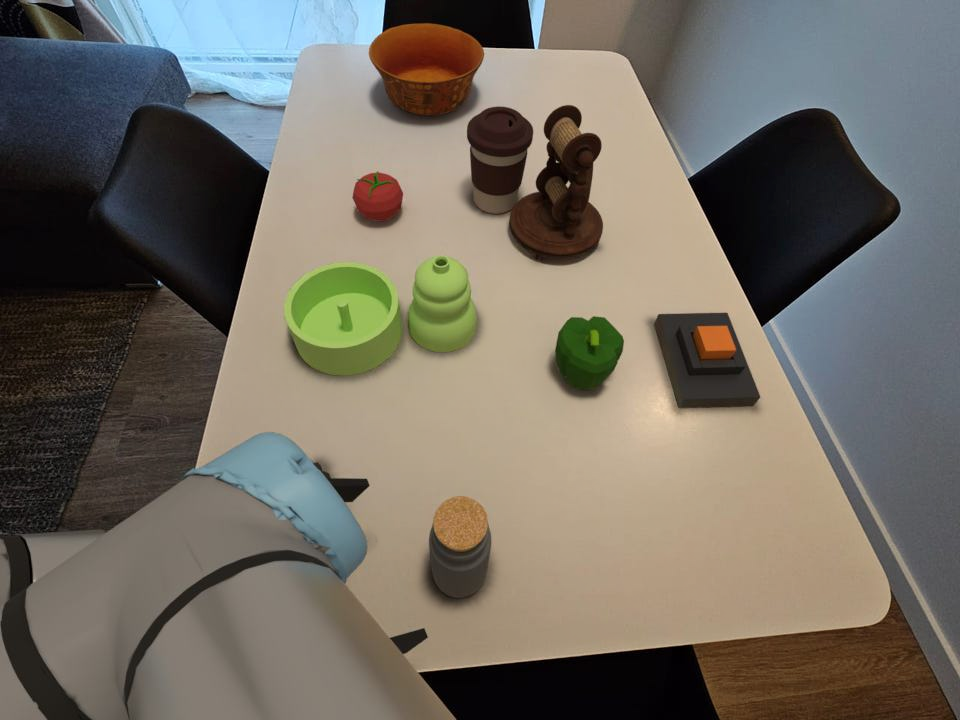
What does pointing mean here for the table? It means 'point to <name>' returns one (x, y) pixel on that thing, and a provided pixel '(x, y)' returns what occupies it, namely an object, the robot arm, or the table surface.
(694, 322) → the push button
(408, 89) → the bowl
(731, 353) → the orange square block
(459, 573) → the bottle
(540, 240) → the wooden spool holder
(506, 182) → the coffee cup
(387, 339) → the green rounded pieces
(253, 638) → the robot arm
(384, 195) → the tomato
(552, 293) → the table surface
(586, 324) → the bell pepper
